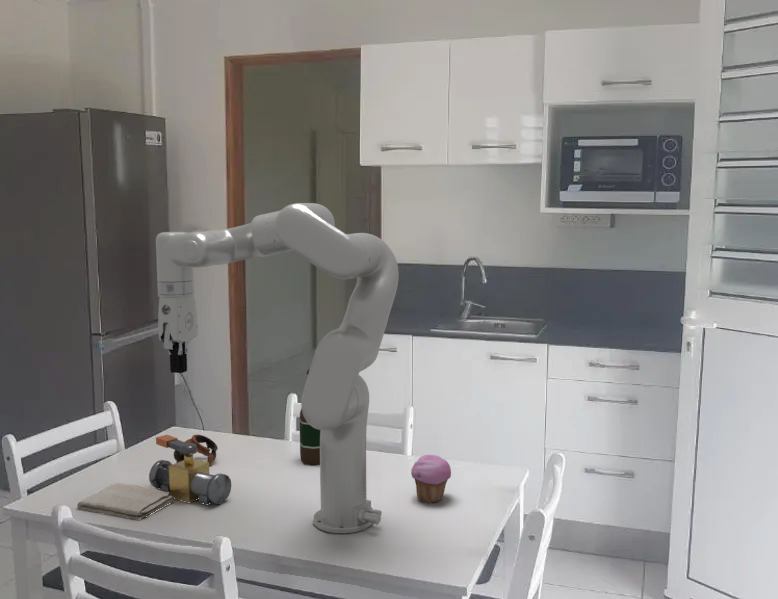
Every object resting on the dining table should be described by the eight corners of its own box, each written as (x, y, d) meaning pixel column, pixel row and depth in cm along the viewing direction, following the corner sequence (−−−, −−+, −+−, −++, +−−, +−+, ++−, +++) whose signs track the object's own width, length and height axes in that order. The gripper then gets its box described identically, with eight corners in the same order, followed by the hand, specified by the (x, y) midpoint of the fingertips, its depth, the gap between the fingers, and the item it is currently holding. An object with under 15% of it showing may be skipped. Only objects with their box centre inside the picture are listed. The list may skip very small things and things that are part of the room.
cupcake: (425, 489, 177) (425, 447, 176) (458, 497, 172) (458, 454, 171) (404, 501, 170) (404, 457, 169) (437, 510, 165) (437, 465, 164)
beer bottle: (329, 465, 193) (327, 372, 191) (298, 465, 194) (296, 372, 191) (331, 455, 201) (330, 366, 198) (302, 455, 201) (300, 366, 198)
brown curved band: (189, 457, 202) (204, 431, 201) (212, 478, 198) (228, 451, 197) (158, 459, 191) (173, 431, 191) (182, 481, 187) (198, 453, 187)
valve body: (231, 499, 171) (230, 456, 170) (211, 509, 166) (210, 465, 165) (170, 484, 181) (169, 443, 180) (149, 492, 176) (147, 450, 175)
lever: (186, 456, 170) (186, 449, 170) (155, 444, 178) (154, 437, 178) (200, 452, 172) (199, 445, 172) (168, 440, 181) (168, 434, 181)
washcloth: (142, 523, 160) (142, 509, 159) (74, 512, 166) (73, 498, 166) (177, 503, 171) (176, 489, 170) (112, 492, 177) (111, 479, 177)
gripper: (176, 293, 158) (179, 380, 160) (206, 285, 173) (209, 365, 175) (142, 292, 160) (146, 378, 162) (175, 285, 174) (178, 364, 176)
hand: (178, 371), depth 168 cm, fingers closed
